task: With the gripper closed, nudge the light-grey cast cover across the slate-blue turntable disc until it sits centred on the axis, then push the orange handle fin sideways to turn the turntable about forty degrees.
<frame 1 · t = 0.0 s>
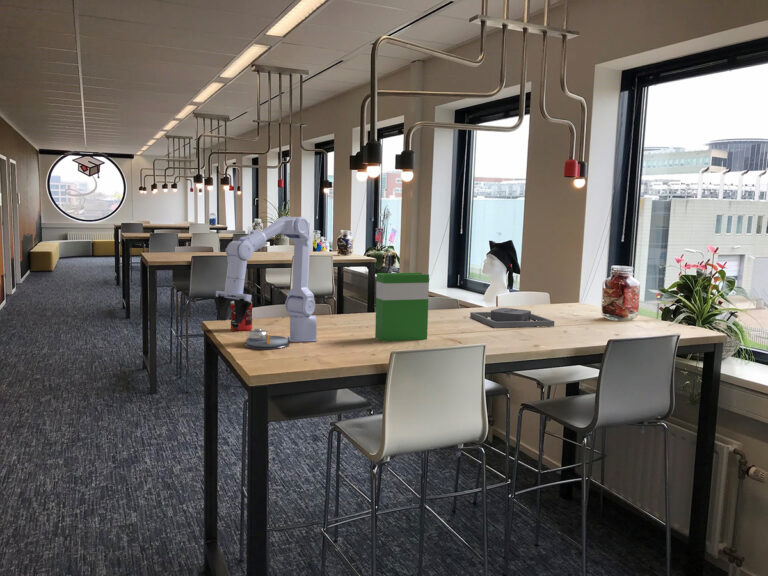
hand: (230, 321, 196), 11 cm above the table, tool pointing down, fingers open, 7 cm apart
canned food: (241, 330, 239), on the table
green cereal box: (401, 339, 230), on the table
turntable base: (267, 345, 213), on the table
turntable: (267, 337, 212), point 3 cm above the table, hinge at 0.0°, touching cover
streaming box: (510, 323, 273), resting in black tray rim
black tray rim: (510, 321, 273), on the table
cover: (258, 339, 212), point 2 cm above the table, touching turntable
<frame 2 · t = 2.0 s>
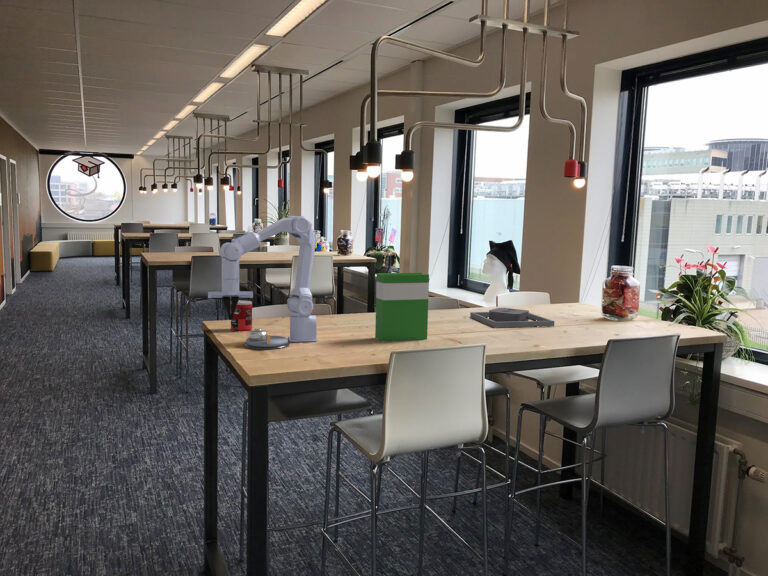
hand: (230, 319, 209), 9 cm above the table, tool pointing down, fingers closed
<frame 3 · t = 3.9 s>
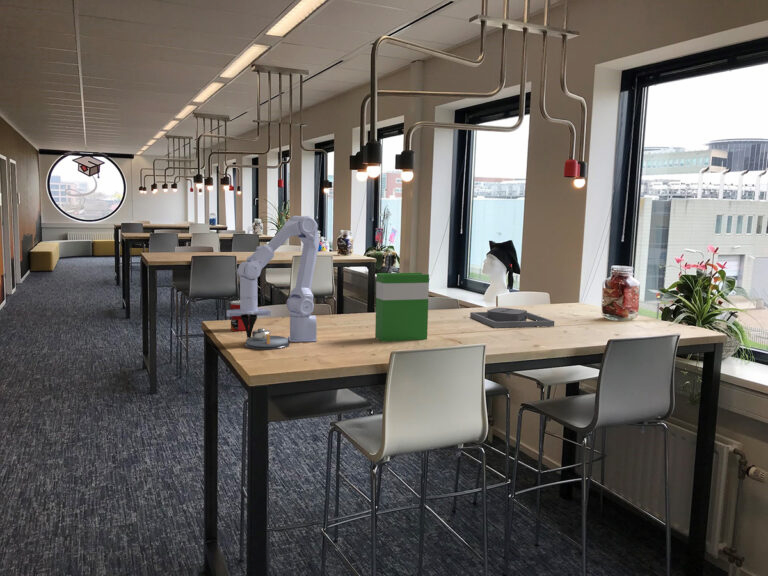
hand: (248, 337, 211), 3 cm above the table, tool pointing down, fingers closed
turntable: (267, 337, 212), point 3 cm above the table, hinge at 0.0°
cover: (261, 339, 212), point 2 cm above the table, touching gripper
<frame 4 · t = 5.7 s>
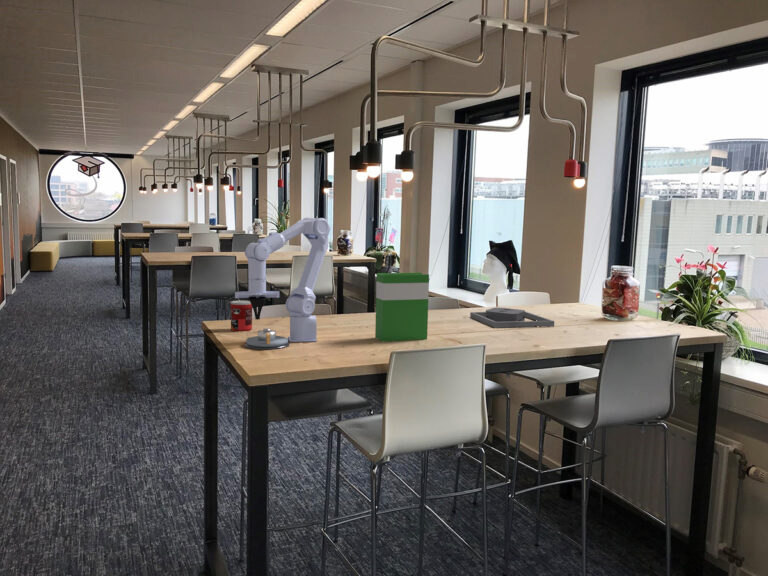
hand: (257, 319, 209), 9 cm above the table, tool pointing down, fingers closed
turntable: (267, 337, 212), point 3 cm above the table, hinge at 0.0°, touching cover
cover: (266, 339, 212), point 2 cm above the table, touching turntable
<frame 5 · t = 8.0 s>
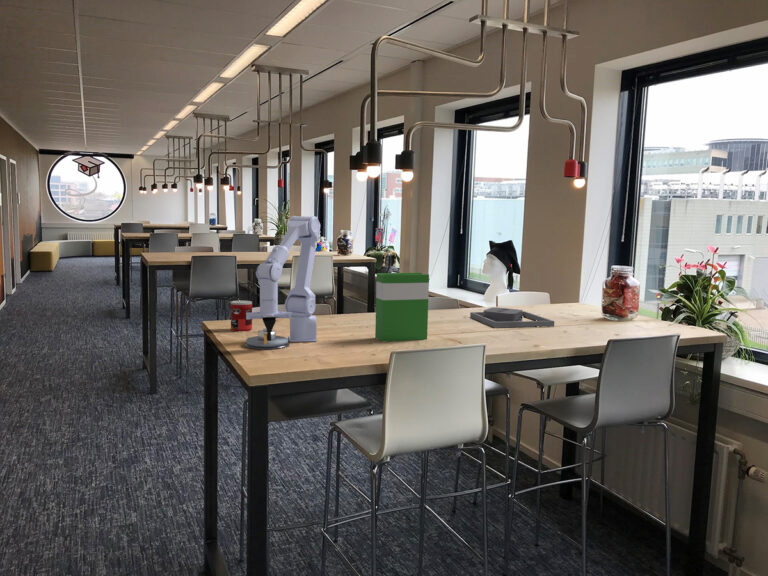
hand: (269, 340, 206), 3 cm above the table, tool pointing down, fingers closed, pressing on turntable
turntable: (267, 337, 212), point 3 cm above the table, hinge at -7.6°, touching cover, gripper
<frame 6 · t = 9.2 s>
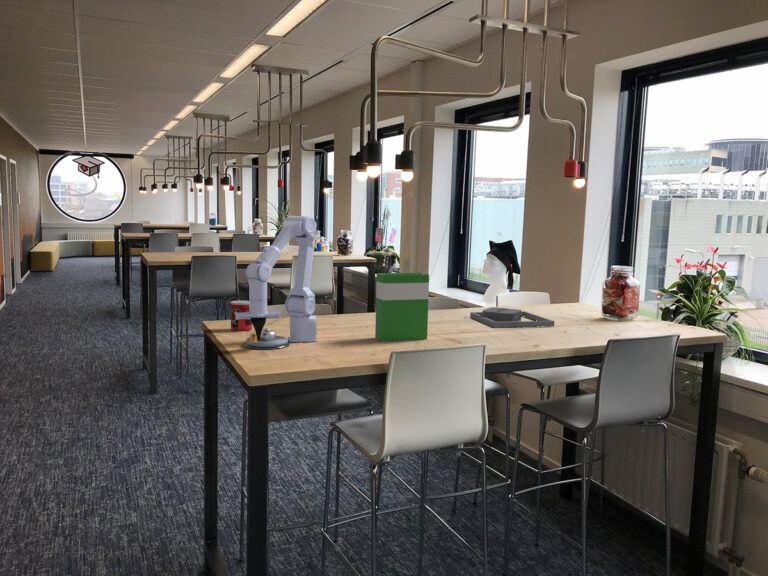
hand: (258, 340, 206), 3 cm above the table, tool pointing down, fingers closed
turntable: (266, 337, 212), point 3 cm above the table, hinge at -44.9°, touching cover, gripper
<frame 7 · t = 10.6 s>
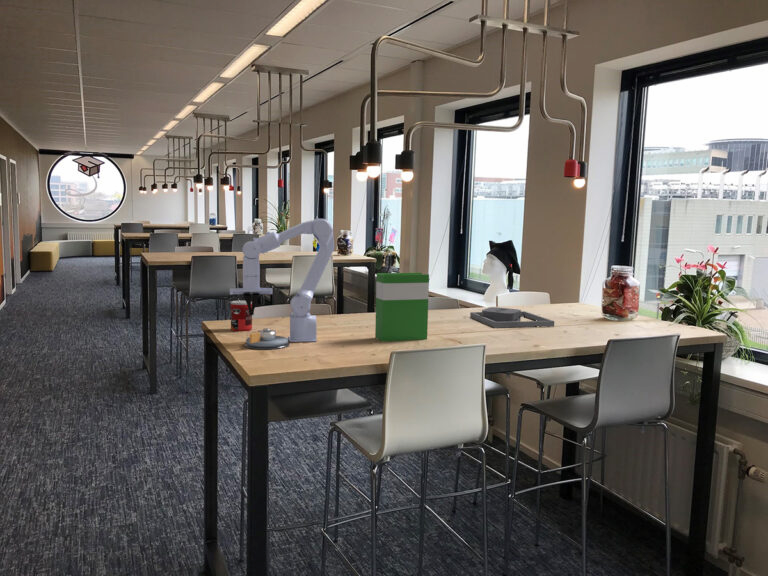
hand: (251, 314, 218), 9 cm above the table, tool pointing down, fingers closed
turntable: (266, 337, 212), point 3 cm above the table, hinge at -45.5°, touching cover
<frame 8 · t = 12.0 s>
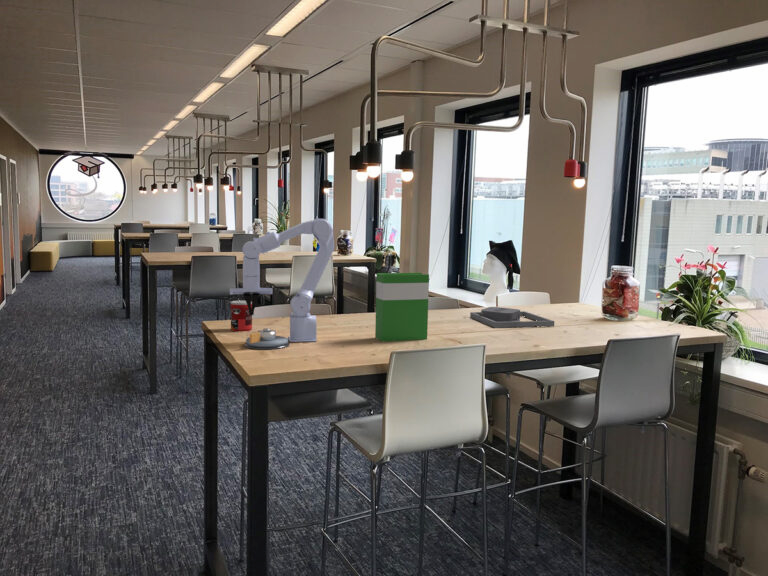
hand: (251, 314, 218), 9 cm above the table, tool pointing down, fingers closed
at the end: cover 0.1 cm from the turntable (horizontally); turntable at -46° (first picture: +0°); cover tilted 0° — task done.
